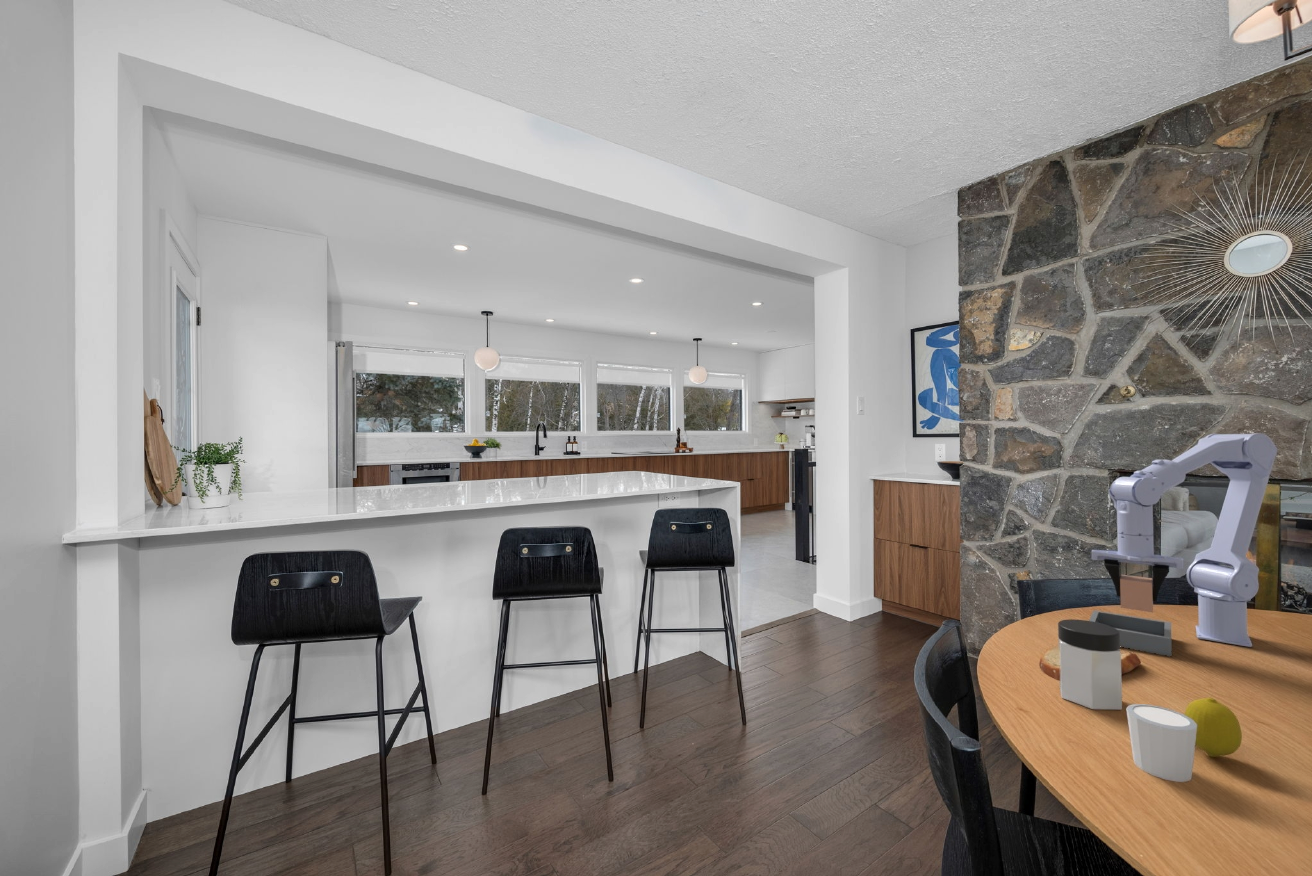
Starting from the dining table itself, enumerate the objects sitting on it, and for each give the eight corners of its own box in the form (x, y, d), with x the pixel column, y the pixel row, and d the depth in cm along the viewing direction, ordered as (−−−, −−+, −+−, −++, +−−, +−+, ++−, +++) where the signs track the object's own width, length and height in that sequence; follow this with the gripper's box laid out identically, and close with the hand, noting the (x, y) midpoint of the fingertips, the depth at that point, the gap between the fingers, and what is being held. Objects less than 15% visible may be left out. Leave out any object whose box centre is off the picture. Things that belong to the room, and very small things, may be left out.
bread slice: (1049, 683, 98) (1049, 662, 98) (1021, 647, 115) (1021, 629, 115) (1176, 697, 92) (1176, 675, 92) (1127, 657, 108) (1126, 638, 108)
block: (1122, 602, 119) (1121, 574, 119) (1153, 606, 115) (1152, 578, 115) (1120, 607, 115) (1120, 579, 115) (1152, 612, 112) (1152, 583, 112)
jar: (1135, 704, 89) (1133, 630, 89) (1108, 716, 85) (1106, 639, 85) (1073, 682, 97) (1071, 615, 97) (1046, 692, 93) (1045, 622, 93)
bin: (1094, 625, 126) (1093, 610, 126) (1171, 638, 117) (1170, 622, 117) (1087, 640, 116) (1087, 624, 116) (1171, 656, 107) (1171, 638, 107)
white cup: (1113, 755, 75) (1112, 704, 75) (1159, 751, 75) (1158, 701, 75) (1164, 786, 68) (1163, 730, 68) (1214, 782, 69) (1213, 727, 69)
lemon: (1254, 770, 71) (1253, 709, 71) (1204, 766, 72) (1202, 705, 72) (1220, 747, 76) (1218, 690, 76) (1174, 743, 77) (1172, 687, 77)
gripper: (1089, 532, 117) (1091, 595, 117) (1183, 540, 107) (1184, 609, 107) (1092, 528, 122) (1094, 588, 122) (1182, 535, 113) (1183, 600, 112)
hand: (1136, 597), depth 115 cm, fingers closed on block, 5 cm apart
